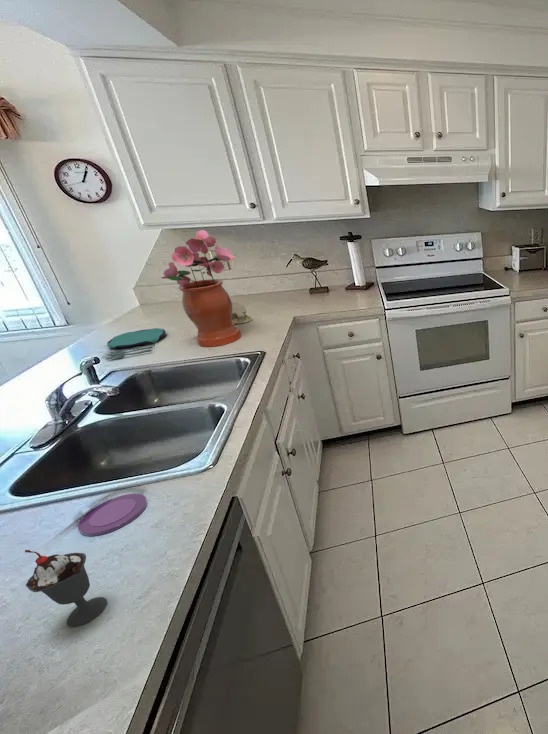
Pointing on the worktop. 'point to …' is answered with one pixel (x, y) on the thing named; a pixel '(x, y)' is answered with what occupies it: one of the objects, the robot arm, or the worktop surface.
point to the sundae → (66, 585)
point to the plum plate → (112, 514)
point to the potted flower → (205, 291)
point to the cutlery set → (134, 341)
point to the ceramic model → (239, 314)
